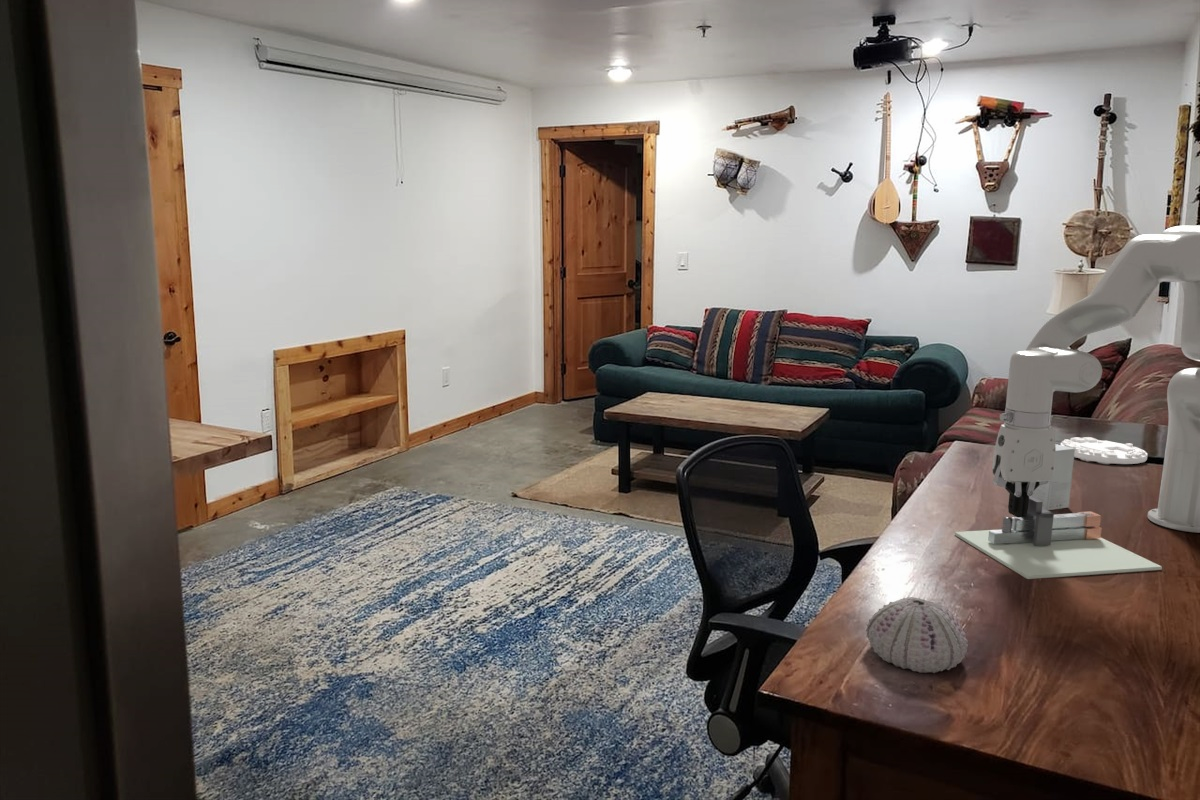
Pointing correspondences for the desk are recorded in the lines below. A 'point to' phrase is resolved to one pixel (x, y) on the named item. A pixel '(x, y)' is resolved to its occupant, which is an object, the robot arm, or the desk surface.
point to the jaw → (1059, 521)
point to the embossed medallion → (1105, 451)
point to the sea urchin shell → (917, 635)
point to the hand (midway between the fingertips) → (1017, 514)
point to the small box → (1058, 481)
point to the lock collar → (1041, 522)
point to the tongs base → (1012, 536)
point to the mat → (1060, 556)
